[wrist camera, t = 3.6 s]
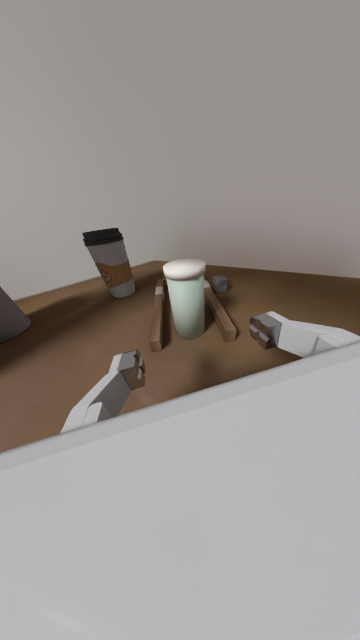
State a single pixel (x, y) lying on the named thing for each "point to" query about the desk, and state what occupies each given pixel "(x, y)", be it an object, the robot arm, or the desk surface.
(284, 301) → the desk surface
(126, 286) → the coffee cup
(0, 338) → the pillar candle
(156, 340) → the beam slot
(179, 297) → the mint green tumbler
